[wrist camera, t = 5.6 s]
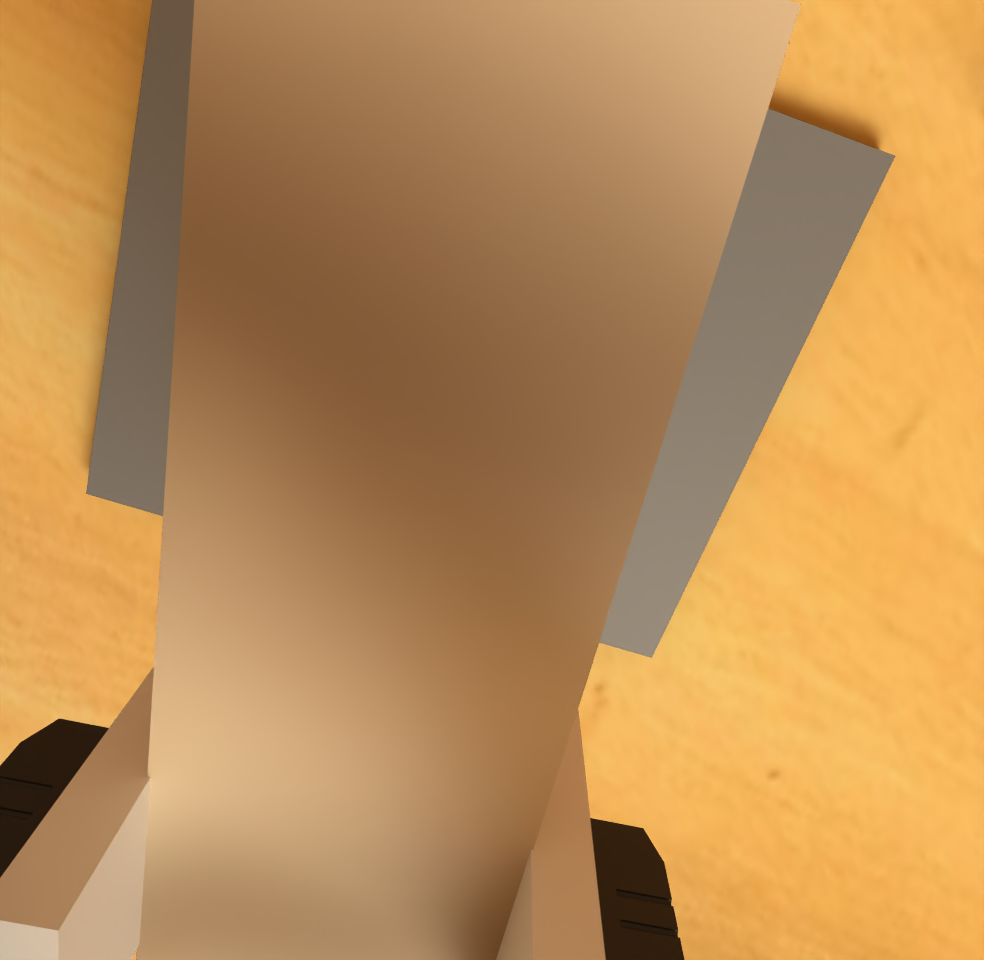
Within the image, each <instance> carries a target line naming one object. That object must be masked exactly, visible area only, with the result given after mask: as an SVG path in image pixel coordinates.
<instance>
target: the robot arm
mask: <svg viewBox="0 0 984 960" xmlns="http://www.w3.org/2000/svg"><path fill="white" fill-rule="evenodd" d="M153 675H154V667H153V669H152V670H151V671H150V673H149V674H148V675H147V677H146V678H145V680H144V681H143V682H142V684H141V685H140V686H139V688H138V689H137V691H136V692H135V693H134V695H133V696H132V697H131V699H130V700H129V702H128V703H127V704H126V706H125V707H124V708H123V710H122V711H121V713H120V714H119V715H118V717H117V718H116V719H115V721H114V722H113V724H112V725H111V726H110V728H106V727H100V726H95V725H90V724H85V723H80V722H74V721H69V720H64V719H58V720H56V721H55V722H53V723H51V724H50V725H48V726H47V727H45V728H43V729H42V730H40V731H38V732H37V733H35V734H34V735H32V736H30V737H29V738H27V739H25V740H24V741H22V742H21V743H20V744H19V745H18V746H17V747H16V748H15V749H14V751H13V752H12V753H11V754H10V755H9V756H8V757H7V759H6V760H5V761H4V762H3V763H2V764H1V766H0V960H132V958H133V956H134V954H135V952H136V950H137V948H138V946H139V943H140V927H141V912H142V897H143V882H144V867H145V852H146V836H147V821H148V806H149V791H150V777H147V773H148V757H149V740H150V724H151V708H152V691H153ZM671 900H672V898H671V893H670V888H669V884H668V879H667V874H666V869H665V864H664V861H663V860H662V858H661V857H660V855H659V853H658V852H657V850H656V848H655V847H654V845H653V844H652V842H651V840H650V839H649V837H648V835H647V834H646V832H645V831H644V829H643V828H639V827H634V826H629V825H623V824H618V823H613V822H608V821H603V820H597V819H592V818H590V812H589V803H588V794H587V785H586V776H585V767H584V757H583V748H582V739H581V730H580V721H579V712H578V710H577V713H576V716H575V720H574V723H573V726H572V729H571V732H570V735H569V739H568V742H567V745H566V748H565V751H564V754H563V758H562V761H561V764H560V767H559V770H558V773H557V776H556V780H555V783H554V786H553V789H552V792H551V795H550V799H549V802H548V805H547V808H546V811H545V814H544V817H543V821H542V824H541V827H540V830H539V833H538V836H537V840H536V843H535V846H534V849H533V850H531V852H530V855H529V858H528V861H527V864H526V867H525V870H524V874H523V877H522V880H521V883H520V886H519V889H518V892H517V896H516V899H515V902H514V905H513V908H512V911H511V914H510V917H509V921H508V924H507V927H506V930H505V933H504V936H503V939H502V943H501V946H500V949H499V952H498V955H497V958H496V960H684V956H683V951H682V946H681V941H680V938H678V935H677V934H678V927H677V922H676V917H675V912H674V908H673V906H671Z"/></svg>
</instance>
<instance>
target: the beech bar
mask: <svg viewBox="0 0 984 960" xmlns="http://www.w3.org/2000/svg"><path fill="white" fill-rule="evenodd" d="M800 6H801V3H797V2H793V1H789V0H194V16H193V32H192V49H191V65H190V81H189V98H188V114H187V131H186V147H185V164H184V180H183V197H182V213H181V230H180V246H179V263H178V279H177V296H176V312H175V329H174V345H173V362H172V378H171V394H170V411H169V427H168V444H167V460H166V477H165V493H164V510H163V526H162V543H161V559H160V576H159V592H158V609H157V625H156V642H155V658H154V675H153V691H152V708H151V724H150V740H149V757H148V773H147V777H150V791H149V806H148V821H147V836H146V852H145V867H144V882H143V897H142V912H141V927H140V943H139V946H138V948H137V955H136V960H496V958H497V955H498V952H499V949H500V946H501V943H502V939H503V936H504V933H505V930H506V927H507V924H508V921H509V917H510V914H511V911H512V908H513V905H514V902H515V899H516V896H517V892H518V889H519V886H520V883H521V880H522V877H523V874H524V870H525V867H526V864H527V861H528V858H529V855H530V852H531V850H533V849H534V846H535V843H536V840H537V836H538V833H539V830H540V827H541V824H542V821H543V817H544V814H545V811H546V808H547V805H548V802H549V799H550V795H551V792H552V789H553V786H554V783H555V780H556V776H557V773H558V770H559V767H560V764H561V761H562V758H563V754H564V751H565V748H566V745H567V742H568V739H569V735H570V732H571V729H572V726H573V723H574V720H575V716H576V713H577V710H578V707H579V704H580V701H581V698H582V694H583V691H584V688H585V685H586V682H587V679H588V675H589V672H590V669H591V666H592V663H593V660H594V657H595V653H596V650H597V647H598V644H599V641H600V638H601V634H602V631H603V628H604V625H605V622H606V619H607V615H608V612H609V609H610V606H611V603H612V600H613V597H614V593H615V590H616V587H617V584H618V581H619V578H620V574H621V571H622V568H623V565H624V562H625V559H626V556H627V552H628V549H629V546H630V543H631V540H632V537H633V533H634V530H635V527H636V524H637V521H638V518H639V514H640V511H641V508H642V505H643V502H644V499H645V496H646V492H647V489H648V486H649V483H650V480H651V477H652V473H653V470H654V467H655V464H656V461H657V458H658V454H659V451H660V448H661V445H662V442H663V439H664V436H665V432H666V429H667V426H668V423H669V420H670V417H671V413H672V410H673V407H674V404H675V401H676V398H677V395H678V391H679V388H680V385H681V382H682V379H683V376H684V372H685V369H686V366H687V363H688V360H689V357H690V353H691V350H692V347H693V344H694V341H695V338H696V335H697V331H698V328H699V325H700V322H701V319H702V316H703V312H704V309H705V306H706V303H707V300H708V297H709V294H710V290H711V287H712V284H713V281H714V278H715V275H716V271H717V268H718V265H719V262H720V259H721V256H722V252H723V249H724V246H725V243H726V240H727V237H728V234H729V230H730V227H731V224H732V221H733V218H734V215H735V211H736V208H737V205H738V202H739V199H740V196H741V193H742V189H743V186H744V183H745V180H746V177H747V174H748V170H749V167H750V164H751V161H752V158H753V155H754V151H755V148H756V145H757V142H758V139H759V136H760V133H761V129H762V126H763V123H764V120H765V117H766V114H767V110H768V107H769V104H770V101H771V98H772V95H773V91H774V88H775V85H776V82H777V79H778V76H779V73H780V69H781V66H782V63H783V60H784V57H785V54H786V50H787V47H788V44H789V41H790V38H791V35H792V32H793V28H794V25H795V22H796V19H797V16H798V13H799V9H800Z"/></svg>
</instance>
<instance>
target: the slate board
mask: <svg viewBox="0 0 984 960" xmlns="http://www.w3.org/2000/svg"><path fill="white" fill-rule="evenodd" d="M193 16H194V0H152V8H151V15H150V22H149V30H148V37H147V45H146V52H145V60H144V67H143V74H142V82H141V89H140V97H139V104H138V112H137V119H136V127H135V134H134V141H133V149H132V156H131V164H130V171H129V179H128V186H127V194H126V201H125V208H124V216H123V223H122V231H121V238H120V246H119V253H118V261H117V268H116V275H115V283H114V290H113V298H112V305H111V313H110V320H109V328H108V335H107V342H106V350H105V357H104V365H103V372H102V380H101V387H100V394H99V402H98V409H97V417H96V424H95V432H94V439H93V447H92V454H91V461H90V469H89V476H88V484H87V491H86V494H89V495H92V496H96V497H99V498H103V499H106V500H110V501H113V502H116V503H120V504H123V505H127V506H130V507H134V508H137V509H141V510H144V511H147V512H151V513H154V514H158V515H161V516H163V510H164V493H165V477H166V460H167V444H168V427H169V411H170V394H171V378H172V362H173V345H174V329H175V312H176V296H177V279H178V263H179V246H180V230H181V213H182V197H183V180H184V164H185V147H186V131H187V114H188V98H189V81H190V65H191V49H192V32H193ZM894 158H895V156H894V155H892V154H889V153H886V152H883V151H881V150H878V149H875V148H873V147H870V146H867V145H865V144H862V143H859V142H857V141H854V140H851V139H849V138H846V137H843V136H841V135H838V134H835V133H833V132H830V131H827V130H825V129H822V128H819V127H817V126H814V125H811V124H809V123H806V122H803V121H801V120H798V119H795V118H793V117H790V116H787V115H785V114H782V113H779V112H777V111H774V110H771V109H769V108H768V110H767V114H766V117H765V120H764V123H763V126H762V129H761V133H760V136H759V139H758V142H757V145H756V148H755V151H754V155H753V158H752V161H751V164H750V167H749V170H748V174H747V177H746V180H745V183H744V186H743V189H742V193H741V196H740V199H739V202H738V205H737V208H736V211H735V215H734V218H733V221H732V224H731V227H730V230H729V234H728V237H727V240H726V243H725V246H724V249H723V252H722V256H721V259H720V262H719V265H718V268H717V271H716V275H715V278H714V281H713V284H712V287H711V290H710V294H709V297H708V300H707V303H706V306H705V309H704V312H703V316H702V319H701V322H700V325H699V328H698V331H697V335H696V338H695V341H694V344H693V347H692V350H691V353H690V357H689V360H688V363H687V366H686V369H685V372H684V376H683V379H682V382H681V385H680V388H679V391H678V395H677V398H676V401H675V404H674V407H673V410H672V413H671V417H670V420H669V423H668V426H667V429H666V432H665V436H664V439H663V442H662V445H661V448H660V451H659V454H658V458H657V461H656V464H655V467H654V470H653V473H652V477H651V480H650V483H649V486H648V489H647V492H646V496H645V499H644V502H643V505H642V508H641V511H640V514H639V518H638V521H637V524H636V527H635V530H634V533H633V537H632V540H631V543H630V546H629V549H628V552H627V556H626V559H625V562H624V565H623V568H622V571H621V574H620V578H619V581H618V584H617V587H616V590H615V593H614V597H613V600H612V603H611V606H610V609H609V612H608V615H607V619H606V622H605V625H604V628H603V631H602V634H601V638H600V641H599V643H603V644H606V645H610V646H613V647H616V648H620V649H623V650H627V651H630V652H634V653H637V654H641V655H644V656H647V657H651V658H652V656H653V654H654V652H655V650H656V648H657V646H658V644H659V642H660V640H661V637H662V635H663V633H664V631H665V629H666V627H667V625H668V623H669V621H670V619H671V617H672V615H673V613H674V611H675V609H676V607H677V605H678V602H679V600H680V598H681V596H682V594H683V592H684V590H685V588H686V586H687V584H688V582H689V580H690V578H691V576H692V574H693V572H694V570H695V567H696V565H697V563H698V561H699V559H700V557H701V555H702V553H703V551H704V549H705V547H706V545H707V543H708V541H709V539H710V537H711V535H712V532H713V530H714V528H715V526H716V524H717V522H718V520H719V518H720V516H721V514H722V512H723V510H724V508H725V506H726V504H727V502H728V499H729V497H730V495H731V493H732V491H733V489H734V487H735V485H736V483H737V481H738V479H739V477H740V475H741V473H742V471H743V469H744V467H745V464H746V462H747V460H748V458H749V456H750V454H751V452H752V450H753V448H754V446H755V444H756V442H757V440H758V438H759V436H760V434H761V432H762V429H763V427H764V425H765V423H766V421H767V419H768V417H769V415H770V413H771V411H772V409H773V407H774V405H775V403H776V401H777V399H778V397H779V394H780V392H781V390H782V388H783V386H784V384H785V382H786V380H787V378H788V376H789V374H790V372H791V370H792V368H793V366H794V364H795V361H796V359H797V357H798V355H799V353H800V351H801V349H802V347H803V345H804V343H805V341H806V339H807V337H808V335H809V333H810V331H811V329H812V326H813V324H814V322H815V320H816V318H817V316H818V314H819V312H820V310H821V308H822V306H823V304H824V302H825V300H826V298H827V296H828V294H829V291H830V289H831V287H832V285H833V283H834V281H835V279H836V277H837V275H838V273H839V271H840V269H841V267H842V265H843V263H844V261H845V259H846V256H847V254H848V252H849V250H850V248H851V246H852V244H853V242H854V240H855V238H856V236H857V234H858V232H859V230H860V228H861V226H862V223H863V221H864V219H865V217H866V215H867V213H868V211H869V209H870V207H871V205H872V203H873V201H874V199H875V197H876V195H877V193H878V191H879V188H880V186H881V184H882V182H883V180H884V178H885V176H886V174H887V172H888V170H889V168H890V166H891V164H892V162H893V160H894Z"/></svg>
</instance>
